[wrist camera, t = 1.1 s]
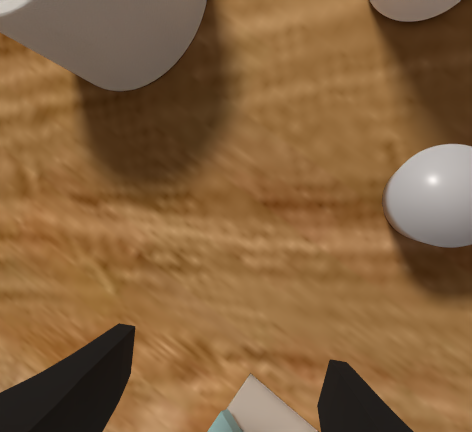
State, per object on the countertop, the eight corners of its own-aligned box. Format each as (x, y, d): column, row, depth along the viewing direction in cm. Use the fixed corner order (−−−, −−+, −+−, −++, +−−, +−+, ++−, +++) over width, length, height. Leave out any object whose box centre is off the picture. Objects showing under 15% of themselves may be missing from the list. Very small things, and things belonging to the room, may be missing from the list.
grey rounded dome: (498, 185, 18) (539, 176, 14) (443, 258, 18) (468, 268, 15) (412, 145, 19) (428, 126, 15) (365, 213, 20) (370, 212, 16)
